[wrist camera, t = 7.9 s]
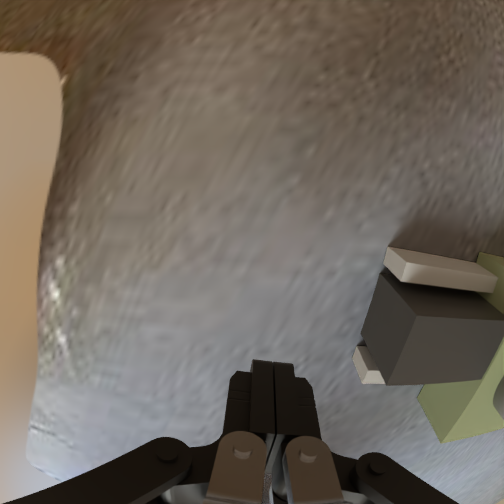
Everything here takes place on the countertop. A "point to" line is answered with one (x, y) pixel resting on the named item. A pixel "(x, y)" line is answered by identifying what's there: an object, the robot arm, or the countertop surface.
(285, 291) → the countertop surface
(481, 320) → the dark grey box
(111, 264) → the countertop surface
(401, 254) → the two-prong plug
